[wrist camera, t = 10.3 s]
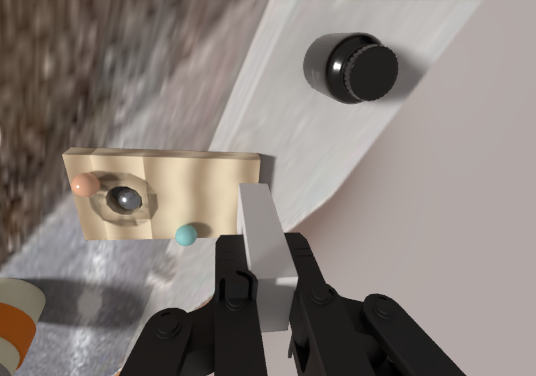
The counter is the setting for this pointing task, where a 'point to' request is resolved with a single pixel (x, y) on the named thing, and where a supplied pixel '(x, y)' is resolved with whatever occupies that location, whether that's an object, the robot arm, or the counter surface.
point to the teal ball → (186, 235)
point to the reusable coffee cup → (17, 321)
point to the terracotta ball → (85, 184)
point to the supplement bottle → (350, 67)
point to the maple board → (161, 191)
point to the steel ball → (129, 198)
